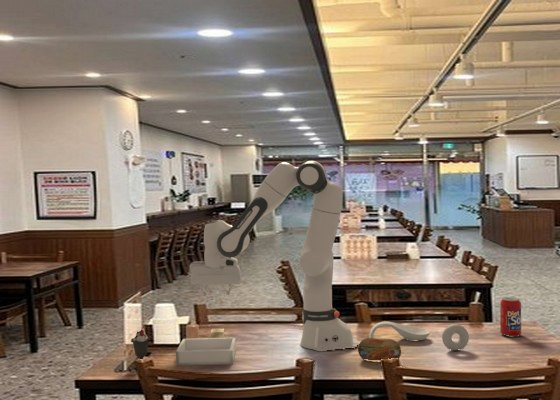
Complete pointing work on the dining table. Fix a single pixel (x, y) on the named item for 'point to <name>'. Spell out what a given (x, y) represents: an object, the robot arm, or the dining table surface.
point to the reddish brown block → (192, 331)
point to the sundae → (140, 344)
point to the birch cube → (217, 333)
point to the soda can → (510, 316)
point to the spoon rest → (403, 331)
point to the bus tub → (206, 351)
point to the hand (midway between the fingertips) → (216, 295)
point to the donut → (452, 330)
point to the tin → (379, 349)
